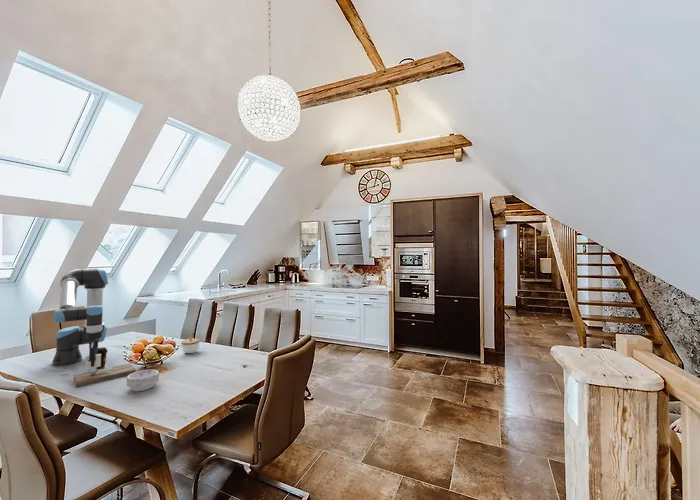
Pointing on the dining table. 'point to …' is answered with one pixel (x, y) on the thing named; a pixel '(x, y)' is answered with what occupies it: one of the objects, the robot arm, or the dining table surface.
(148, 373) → the white floral bowl
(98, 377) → the board
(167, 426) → the dining table surface
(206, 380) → the dining table surface
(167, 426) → the dining table surface
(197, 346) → the lidded bowl
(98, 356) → the white piece
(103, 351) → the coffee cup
